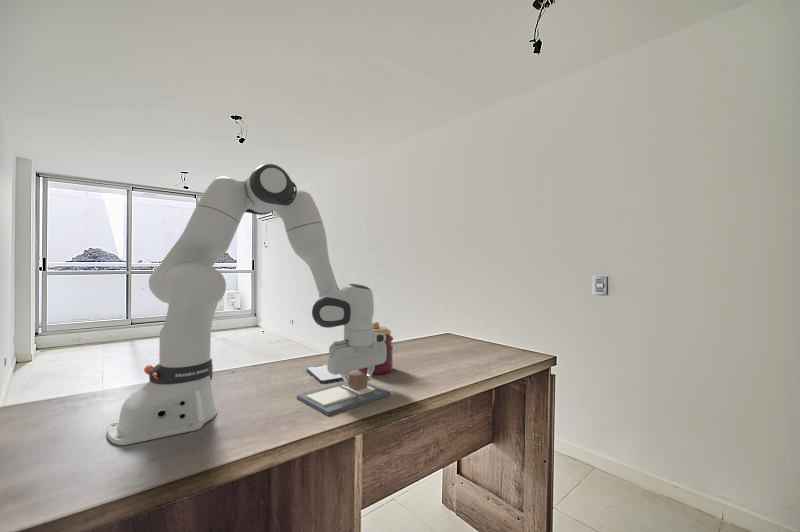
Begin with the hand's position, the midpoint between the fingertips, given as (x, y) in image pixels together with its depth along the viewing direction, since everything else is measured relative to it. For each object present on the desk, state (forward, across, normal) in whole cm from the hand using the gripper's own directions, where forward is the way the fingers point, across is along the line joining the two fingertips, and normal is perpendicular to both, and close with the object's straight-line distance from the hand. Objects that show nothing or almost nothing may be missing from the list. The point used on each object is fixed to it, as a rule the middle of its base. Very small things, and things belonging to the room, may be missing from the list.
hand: (357, 383), depth 112 cm
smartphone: (+4, +2, +21) cm, 21 cm away
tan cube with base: (+2, 0, 0) cm, 2 cm away
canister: (+3, +19, +14) cm, 24 cm away
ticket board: (+3, -5, 0) cm, 6 cm away
